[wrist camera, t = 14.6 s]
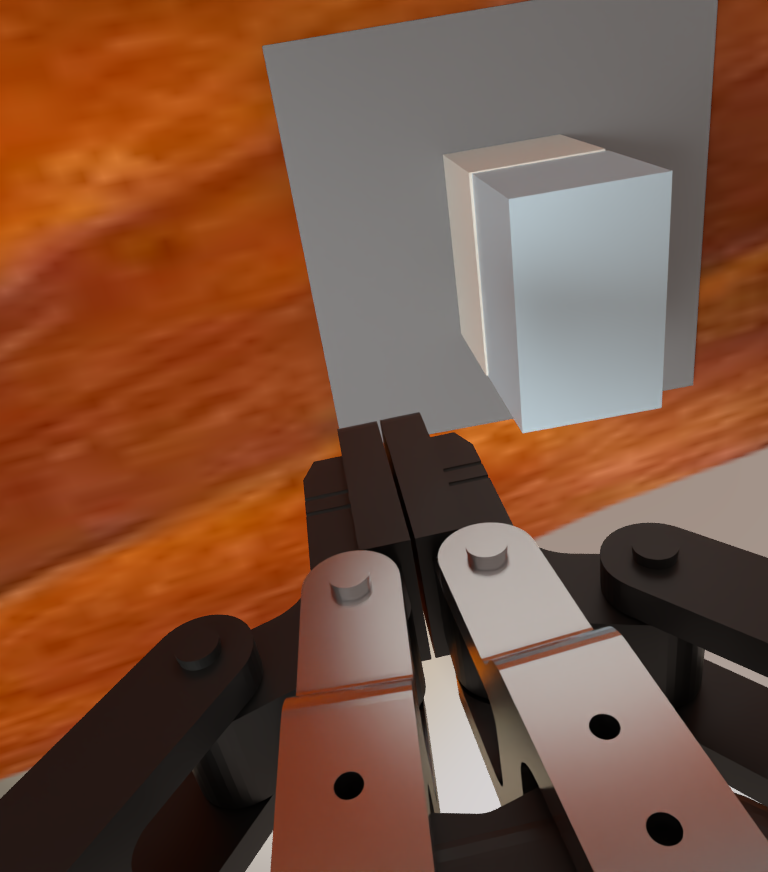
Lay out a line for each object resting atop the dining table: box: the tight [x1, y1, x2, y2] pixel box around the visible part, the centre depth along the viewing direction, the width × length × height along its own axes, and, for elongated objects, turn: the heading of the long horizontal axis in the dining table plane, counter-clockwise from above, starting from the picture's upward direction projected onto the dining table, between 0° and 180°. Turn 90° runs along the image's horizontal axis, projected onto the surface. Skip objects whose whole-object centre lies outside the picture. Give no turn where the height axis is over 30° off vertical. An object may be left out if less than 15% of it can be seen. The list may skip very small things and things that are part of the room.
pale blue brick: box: [472, 150, 673, 433], centre depth 26 cm, size 8×5×5 cm, turn 8°
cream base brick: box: [443, 134, 605, 376], centre depth 30 cm, size 8×5×5 cm, turn 8°
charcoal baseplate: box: [262, 0, 718, 443], centre depth 33 cm, size 18×18×1 cm
